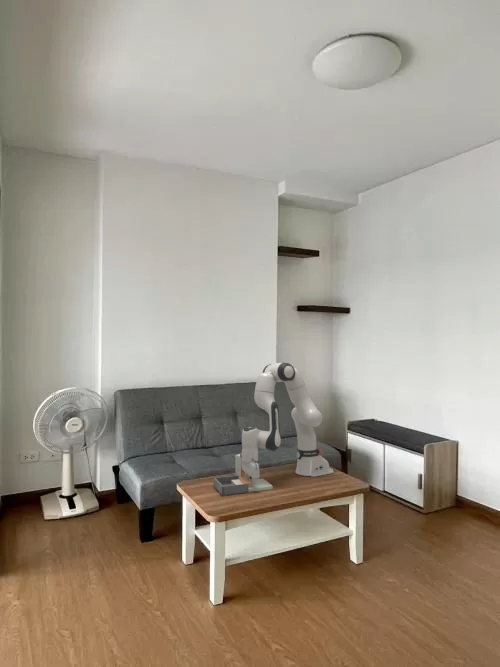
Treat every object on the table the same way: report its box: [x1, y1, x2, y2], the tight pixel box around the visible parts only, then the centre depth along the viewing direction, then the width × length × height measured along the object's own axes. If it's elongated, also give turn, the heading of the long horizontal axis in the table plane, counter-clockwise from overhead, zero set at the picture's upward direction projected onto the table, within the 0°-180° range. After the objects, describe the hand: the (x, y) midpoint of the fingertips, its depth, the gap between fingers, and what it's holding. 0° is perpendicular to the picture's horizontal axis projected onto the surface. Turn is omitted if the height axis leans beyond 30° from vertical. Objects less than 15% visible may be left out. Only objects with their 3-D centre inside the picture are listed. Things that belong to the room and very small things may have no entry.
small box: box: [234, 453, 250, 477], centre depth 272 cm, size 8×6×13 cm
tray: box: [213, 474, 249, 497], centre depth 249 cm, size 14×18×5 cm
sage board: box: [248, 477, 274, 493], centre depth 254 cm, size 14×15×2 cm
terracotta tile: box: [238, 477, 253, 488], centre depth 252 cm, size 4×12×2 cm, turn 19°
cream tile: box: [231, 479, 243, 485], centre depth 250 cm, size 4×12×2 cm, turn 19°
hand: (250, 482), depth 253 cm, fingers open, 8 cm apart
